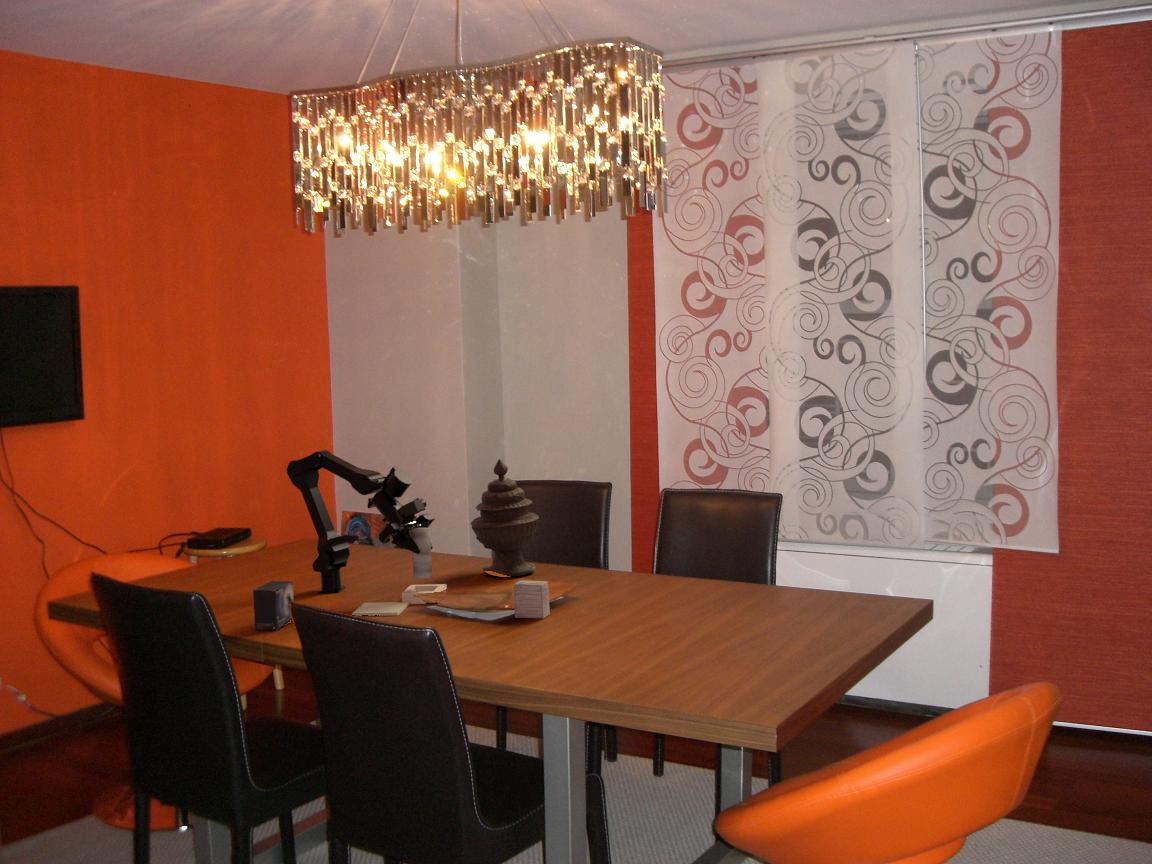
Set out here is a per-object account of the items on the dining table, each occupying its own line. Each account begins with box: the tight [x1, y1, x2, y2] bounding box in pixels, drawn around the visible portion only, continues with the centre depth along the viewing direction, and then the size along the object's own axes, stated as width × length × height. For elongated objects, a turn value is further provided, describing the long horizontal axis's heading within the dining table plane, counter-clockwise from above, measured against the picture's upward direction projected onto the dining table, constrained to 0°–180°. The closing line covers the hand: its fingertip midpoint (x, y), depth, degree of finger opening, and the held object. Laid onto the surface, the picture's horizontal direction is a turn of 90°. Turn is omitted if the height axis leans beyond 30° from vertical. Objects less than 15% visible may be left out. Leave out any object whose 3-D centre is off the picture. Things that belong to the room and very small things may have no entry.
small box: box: [252, 580, 295, 631], centre depth 287 cm, size 11×6×10 cm, turn 168°
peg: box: [410, 527, 433, 580], centre depth 307 cm, size 5×5×13 cm
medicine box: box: [512, 580, 551, 619], centre depth 284 cm, size 8×4×9 cm, turn 71°
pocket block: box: [401, 583, 448, 605], centre depth 308 cm, size 10×10×3 cm
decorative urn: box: [470, 458, 540, 578], centre depth 335 cm, size 20×20×35 cm
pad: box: [351, 601, 410, 617], centre depth 298 cm, size 11×12×1 cm
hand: (425, 551), depth 306 cm, fingers closed on peg, 5 cm apart
